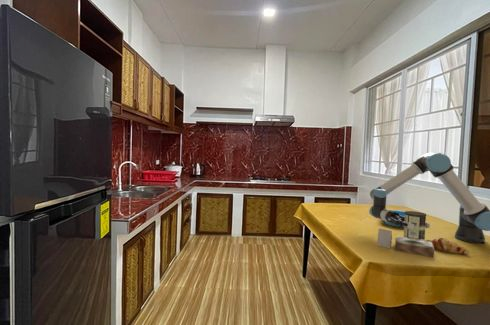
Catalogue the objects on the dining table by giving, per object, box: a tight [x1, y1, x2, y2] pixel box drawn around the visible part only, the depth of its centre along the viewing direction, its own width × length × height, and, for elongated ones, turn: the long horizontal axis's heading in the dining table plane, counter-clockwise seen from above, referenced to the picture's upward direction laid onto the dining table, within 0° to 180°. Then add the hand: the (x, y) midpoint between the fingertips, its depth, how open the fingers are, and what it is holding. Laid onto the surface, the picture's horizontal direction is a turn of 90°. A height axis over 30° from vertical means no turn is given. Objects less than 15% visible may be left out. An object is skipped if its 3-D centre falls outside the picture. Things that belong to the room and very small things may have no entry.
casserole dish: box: [384, 209, 405, 229], centre depth 210 cm, size 37×22×7 cm, turn 147°
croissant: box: [423, 237, 470, 255], centre depth 152 cm, size 21×10×8 cm, turn 47°
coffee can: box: [403, 210, 427, 241], centre depth 149 cm, size 10×10×14 cm
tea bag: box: [376, 228, 393, 249], centre depth 155 cm, size 4×7×10 cm, turn 52°
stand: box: [394, 236, 435, 258], centre depth 150 cm, size 18×11×5 cm, turn 59°
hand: (421, 226), depth 145 cm, fingers closed on coffee can, 10 cm apart
